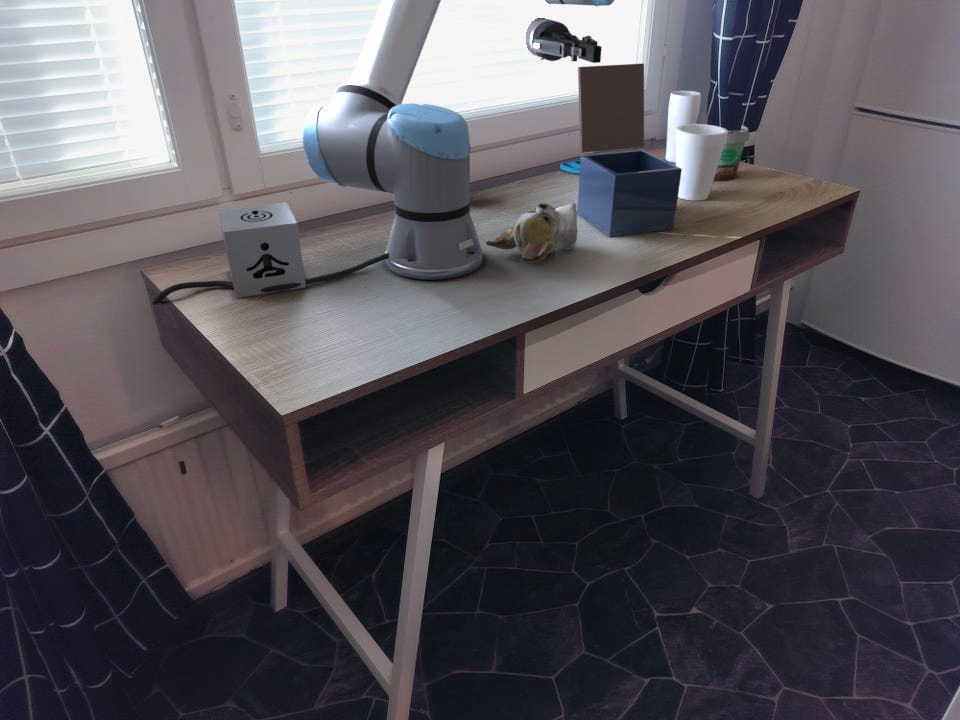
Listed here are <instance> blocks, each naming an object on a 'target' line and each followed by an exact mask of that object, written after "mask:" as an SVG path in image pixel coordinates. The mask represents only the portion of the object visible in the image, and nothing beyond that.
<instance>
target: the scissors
mask: <svg viewBox="0 0 960 720" xmlns="http://www.w3.org/2000/svg"><path fill="white" fill-rule="evenodd" d="M580 162H581V159H574V160H572V162H571V161H563V162H561V163H560V165H559V166H560V169H561V170H562V171H565V172H568V173H572V174H576V175H580Z"/></svg>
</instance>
